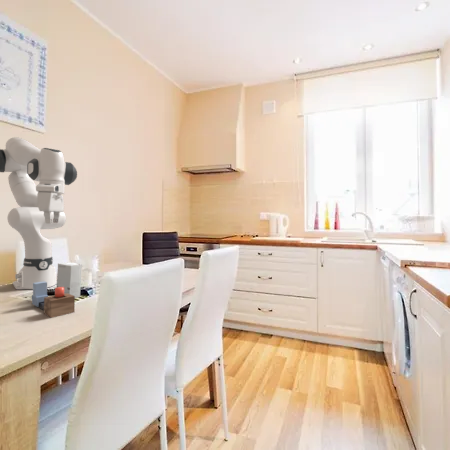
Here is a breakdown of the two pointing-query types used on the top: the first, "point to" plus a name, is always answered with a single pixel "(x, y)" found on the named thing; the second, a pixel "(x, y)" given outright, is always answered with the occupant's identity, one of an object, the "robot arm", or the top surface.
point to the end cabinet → (59, 305)
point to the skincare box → (69, 278)
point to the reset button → (59, 291)
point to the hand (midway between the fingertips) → (52, 223)
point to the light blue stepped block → (39, 292)
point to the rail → (41, 305)
